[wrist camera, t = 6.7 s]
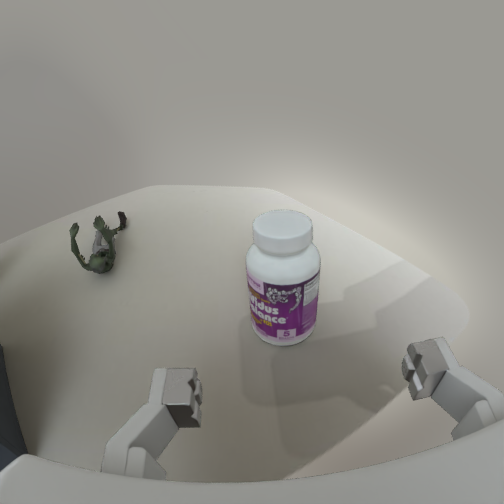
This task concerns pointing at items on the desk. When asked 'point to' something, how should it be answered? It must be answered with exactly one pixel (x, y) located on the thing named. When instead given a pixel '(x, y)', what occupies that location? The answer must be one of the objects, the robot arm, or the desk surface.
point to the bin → (8, 423)
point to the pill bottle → (283, 277)
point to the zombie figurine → (98, 245)
